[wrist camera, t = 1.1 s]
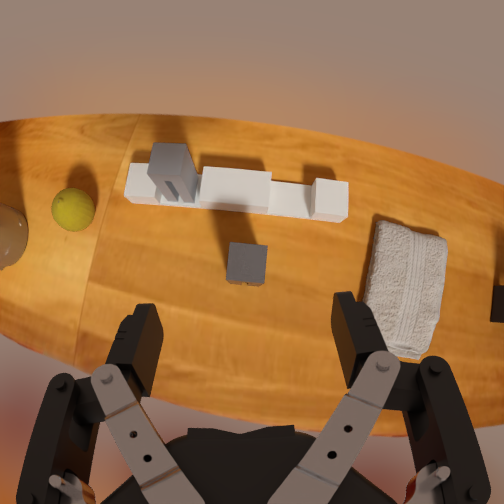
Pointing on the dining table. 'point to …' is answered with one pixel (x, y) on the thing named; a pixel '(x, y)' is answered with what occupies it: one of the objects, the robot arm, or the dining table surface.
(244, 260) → the grey slotted block
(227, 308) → the dining table surface
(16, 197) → the dining table surface
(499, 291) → the phone stand
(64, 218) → the lemon
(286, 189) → the rail
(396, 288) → the washcloth
